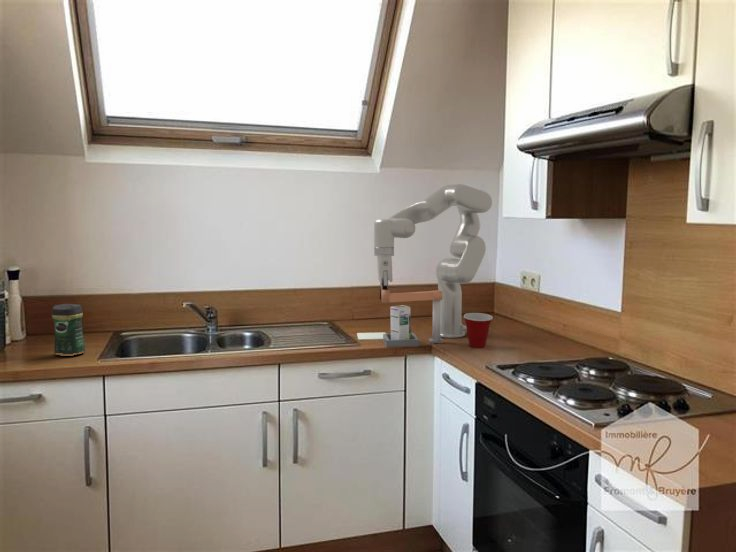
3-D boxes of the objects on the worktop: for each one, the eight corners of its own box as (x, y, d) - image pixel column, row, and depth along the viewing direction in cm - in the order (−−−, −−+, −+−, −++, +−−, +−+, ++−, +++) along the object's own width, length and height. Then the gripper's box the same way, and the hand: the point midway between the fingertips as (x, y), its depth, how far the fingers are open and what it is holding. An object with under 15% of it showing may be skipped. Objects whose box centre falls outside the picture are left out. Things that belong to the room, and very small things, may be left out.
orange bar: (439, 298, 229) (439, 286, 228) (444, 299, 225) (444, 287, 224) (379, 301, 221) (379, 289, 221) (383, 303, 217) (383, 291, 216)
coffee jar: (89, 352, 214) (86, 302, 212) (74, 358, 207) (71, 306, 205) (65, 351, 216) (62, 302, 214) (50, 357, 208) (47, 305, 206)
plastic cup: (470, 350, 213) (471, 318, 212) (458, 344, 224) (458, 313, 222) (497, 348, 216) (498, 316, 215) (484, 342, 227) (484, 312, 225)
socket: (439, 338, 234) (439, 298, 232) (445, 345, 222) (446, 302, 220) (383, 340, 233) (383, 299, 231) (386, 347, 220) (386, 304, 219)
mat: (385, 333, 245) (385, 332, 245) (388, 339, 234) (388, 338, 234) (356, 333, 245) (356, 333, 245) (358, 340, 233) (358, 339, 233)
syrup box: (398, 345, 223) (398, 307, 221) (390, 342, 228) (390, 305, 226) (411, 343, 226) (411, 306, 224) (402, 340, 231) (402, 304, 229)
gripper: (396, 253, 214) (396, 302, 216) (392, 250, 229) (392, 296, 231) (375, 253, 214) (375, 302, 216) (373, 250, 229) (373, 297, 231)
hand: (384, 299), depth 224 cm, fingers closed
